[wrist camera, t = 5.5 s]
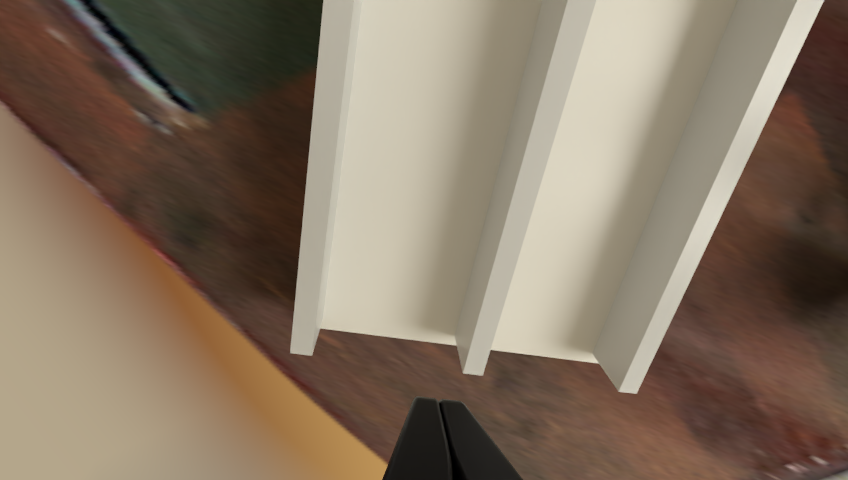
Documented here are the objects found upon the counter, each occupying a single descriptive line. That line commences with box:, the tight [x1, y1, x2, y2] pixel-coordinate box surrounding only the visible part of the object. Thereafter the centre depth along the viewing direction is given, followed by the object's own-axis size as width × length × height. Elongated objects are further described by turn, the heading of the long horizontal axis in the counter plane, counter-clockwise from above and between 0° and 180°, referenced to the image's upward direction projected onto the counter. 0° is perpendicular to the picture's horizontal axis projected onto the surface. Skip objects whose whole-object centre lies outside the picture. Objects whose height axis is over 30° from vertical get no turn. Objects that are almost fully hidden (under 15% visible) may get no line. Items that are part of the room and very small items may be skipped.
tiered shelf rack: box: [290, 0, 824, 394], centre depth 15 cm, size 14×17×4 cm
